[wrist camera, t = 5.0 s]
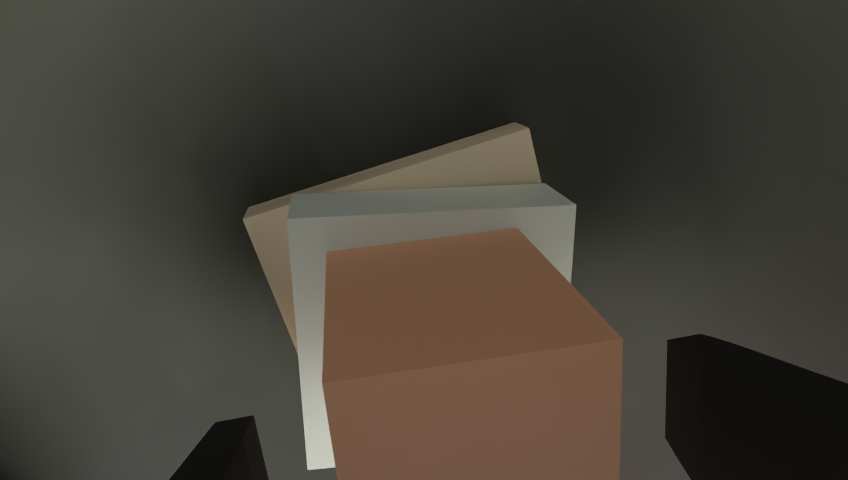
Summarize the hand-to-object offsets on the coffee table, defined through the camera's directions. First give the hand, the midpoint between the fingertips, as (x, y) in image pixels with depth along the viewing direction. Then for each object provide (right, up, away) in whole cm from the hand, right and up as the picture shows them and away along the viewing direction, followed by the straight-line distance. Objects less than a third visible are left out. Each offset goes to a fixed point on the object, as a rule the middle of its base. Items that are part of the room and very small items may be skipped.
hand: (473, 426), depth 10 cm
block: (-1, +1, +3) cm, 3 cm away
